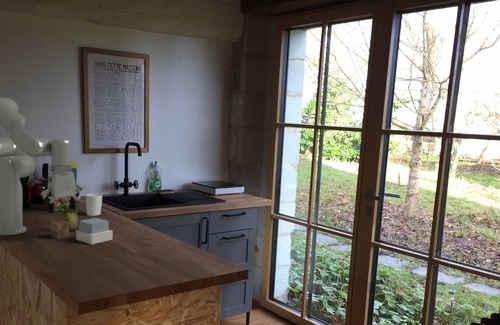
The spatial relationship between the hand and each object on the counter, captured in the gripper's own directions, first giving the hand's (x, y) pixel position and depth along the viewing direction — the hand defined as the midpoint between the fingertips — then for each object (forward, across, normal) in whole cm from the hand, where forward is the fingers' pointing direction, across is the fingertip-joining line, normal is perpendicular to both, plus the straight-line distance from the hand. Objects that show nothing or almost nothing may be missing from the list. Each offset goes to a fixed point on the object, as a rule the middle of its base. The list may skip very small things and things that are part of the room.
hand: (62, 210), depth 177 cm
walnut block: (+11, 0, +1) cm, 11 cm away
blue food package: (+10, +30, +44) cm, 54 cm away
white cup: (+11, +34, +26) cm, 45 cm away
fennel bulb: (+11, +8, +7) cm, 16 cm away
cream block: (+12, +6, -12) cm, 18 cm away
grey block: (+8, +6, -12) cm, 15 cm away
